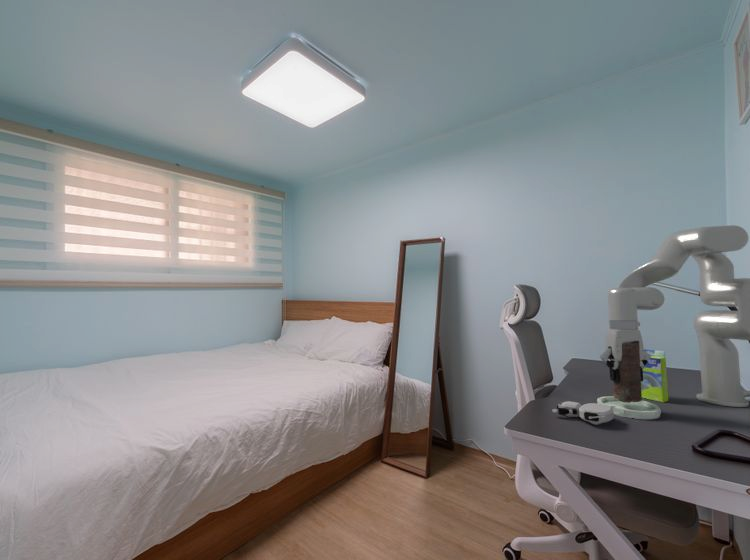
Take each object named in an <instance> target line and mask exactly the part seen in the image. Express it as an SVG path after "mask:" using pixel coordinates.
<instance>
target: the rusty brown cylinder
mask: <svg viewBox="0 0 750 560" xmlns="http://www.w3.org/2000/svg"><path fill="white" fill-rule="evenodd" d="M613 359H614V356H613ZM614 362H615V361H614ZM613 364H614V363H613ZM617 369H618V370H619V380H620V381H619V382H615V381H612V386H613V387H612V388H613V389H612V391H613V394H612V396H613V397H614V398H616V399H618V400H620V401H622V402H640V401H642V399H643V398H642V392H641V374H640V347H639V341H634V342H631V343H624V344H622V359H621V361H620V362H619V365H618V367H617Z"/></svg>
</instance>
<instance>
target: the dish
mask: <svg viewBox="0 0 750 560" xmlns="http://www.w3.org/2000/svg"><path fill="white" fill-rule="evenodd" d="M596 402H597V403H596V404H603V405H608V406H616V407H611V408H612V409H613V412H614V416H616V417H620V418H621V417H622V418H626V417H627V419H632V418H634V420H644V421H646V420H649V421H650V420H657V419H659V418H661V413H662V409H661V408H660V406H658V405H657V404H655V403H652V402H649V401H647V400H642V401H640V402H622V401H620V400H618V399H616V398H614V397H613V395H612V396H611V395H610V396H609V395H608V396H600V397H597V399H596Z"/></svg>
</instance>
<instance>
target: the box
mask: <svg viewBox="0 0 750 560" xmlns="http://www.w3.org/2000/svg"><path fill="white" fill-rule="evenodd" d="M644 351H645V352H649V353H648V354H649V355H650V356H651V357H650V359H649V360H648V361H647V364H646V365H645V368H644V369H643V381H641V392H642V399H645V398H646V399H645V400H649V401H655V402H658V403H659V402H660V403H665V402H668V401H669V391H668V389H669V388H668V377H667V375H668V374H667V359H666V351H664V350H657V349H655V350H654V349H645V348H644ZM651 353H652V354H651Z"/></svg>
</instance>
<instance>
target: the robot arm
mask: <svg viewBox="0 0 750 560" xmlns="http://www.w3.org/2000/svg"><path fill="white" fill-rule="evenodd" d="M748 242H749V235H748V231H746V229H745V228H744V227H742V226H739V225H732V224H731V225H718V226H703V227H696V228H690V229H685V230H678V231H675V232H673V233H670V234H669V235H667V236H666V237H665V238H664V240H663V241H662V243H661V244H660V245H659V247H658V248H657V250H656V252H655V253H654V255H652V256H651V258H650V260H648V261H647V262H646V263H644V264H641V266H639V267H638V268H636V269H634V270H633V271H632V272H630V273H628V274H627V275H626V276H625V277H624V278H623V279H622V280H621V281H620V283H619V284H618V285H617V287H616V288H611V289H608V292H607V303H608V305H607V306H608V321H609V323H608V324H609V325H608V326H609V329H607V330H606V334H605V341H604V343H605V344H604V352H603V353H602V354H601V355H600V356H599V358H600V360H601V361H603V364H605V365H606V366H607V367H606V368H608V369H609V370H608V371H609V380H610V381H612V382H613V381H615V382H619V381H620V380H619V370H618V369H617V367H618V365H619V362H620V361H621V359H622V344H624V343H631V342H634V341H639V347H640V374H641V381H643V369H644V368H645V365H646V364H647V361H648V360H649V359H650V357H651V356H650V355H649V354H650V353H648V351H644V349H645V348H644V342H643V337H642V334H641V330H640V329H639V327H640V326H641V323H640V322H639V321H638V311H654V310H657V309H659V308H661V307H662V306H663V305H664V303H665V299H666V298H665V295H664V293H663V292H662V291H661V290H659V289H657V288H655V287H649V286H650V285H653V284H655V283H659V282H662V281H665V280H667V279H670V278H673V277H675V276H676V275H677V274H679V272H680V271H681V269H682V268H683V266H684V265H685V264H686V261H688V259H689V258H690V256H691V257H692V258H693V260H694V261H695V262H696V263H697V265H698V268H699V298H700V300H701V303H703V304H704V305H706V306H711V307H732V308H734V307H735V308H737V310H725V309H724V310H723V309H718V310H717V309H711V310H710V309H709V310H702V311H700V312H698V313H697V314H696V315H695V316H694V318H693V327H694V330H695V334H696V337H697V341H698V348H699V350H698V352H699V362H700V363H699V364H700V377H701V378H700V381H701V383H700V384H701V392H700V393H697V394H696V395H695V396H696V397H695V398H696V399H697V400H699V401H701V402H703V403H704V402H705V403H708V404H713V405H718V406H724V407H732V408H746V407H749V406H750V402H749V401H748V400H746V399H745V398H748V397H750V390H743V389H742V386H741V371H740V358H739V357H740V355H739V351H738V348H737V347H736V345H735V344H734V343H733V341H732V340H738V341H739V340H740V341H750V278H747V277H743V278H742V277H740V278H736V277H735V268H734V267H735V265H734V263H733V262H732V261H731V259H730V258H729V257H727V255H725V254H723V253H729V252H736V251H740V250H742V249H744V247H746V246H747V244H748ZM613 356H614V359H613ZM614 361H615V362H614ZM613 363H614V364H613Z"/></svg>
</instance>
